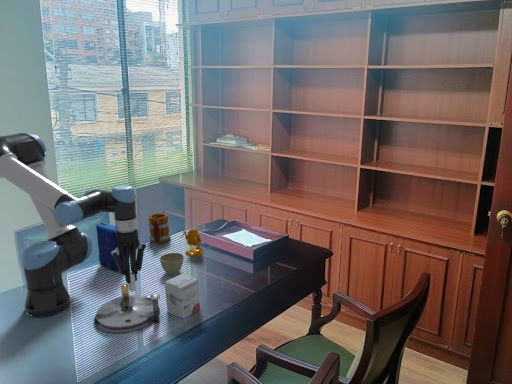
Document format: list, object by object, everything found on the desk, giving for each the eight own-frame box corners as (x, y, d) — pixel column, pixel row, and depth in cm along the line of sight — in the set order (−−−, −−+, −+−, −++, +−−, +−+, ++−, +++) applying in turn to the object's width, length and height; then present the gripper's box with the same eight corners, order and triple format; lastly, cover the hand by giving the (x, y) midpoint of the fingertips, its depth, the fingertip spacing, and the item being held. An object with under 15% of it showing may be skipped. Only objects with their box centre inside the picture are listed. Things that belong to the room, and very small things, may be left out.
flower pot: (179, 278, 182) (178, 262, 180) (157, 277, 184) (155, 261, 182) (188, 268, 191) (187, 253, 189) (166, 267, 193) (165, 251, 191)
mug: (172, 235, 232) (170, 208, 228) (168, 247, 216) (165, 217, 212) (151, 236, 232) (149, 209, 228) (145, 248, 216) (143, 218, 212)
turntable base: (93, 339, 140) (90, 311, 138) (94, 306, 161) (91, 281, 158) (163, 325, 147) (161, 299, 145) (156, 296, 167) (154, 272, 165)
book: (97, 266, 195) (92, 223, 190) (108, 262, 199) (103, 220, 194) (118, 274, 187) (113, 229, 182) (128, 270, 191) (124, 226, 186)
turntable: (96, 334, 141) (94, 315, 140) (97, 305, 160) (95, 288, 158) (160, 322, 147) (158, 304, 146) (153, 295, 166) (152, 279, 164)
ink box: (184, 302, 163) (182, 272, 160) (200, 309, 157) (199, 278, 154) (166, 311, 156) (163, 280, 153) (182, 319, 151) (180, 287, 148)
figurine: (180, 256, 205) (179, 231, 202) (193, 248, 214) (192, 224, 211) (196, 258, 201) (195, 233, 198) (208, 250, 211) (207, 226, 208)
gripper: (113, 236, 150) (120, 299, 156) (148, 227, 158) (153, 287, 164) (104, 231, 155) (111, 292, 161) (138, 222, 163) (143, 281, 169)
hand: (132, 289), depth 162 cm, fingers closed
